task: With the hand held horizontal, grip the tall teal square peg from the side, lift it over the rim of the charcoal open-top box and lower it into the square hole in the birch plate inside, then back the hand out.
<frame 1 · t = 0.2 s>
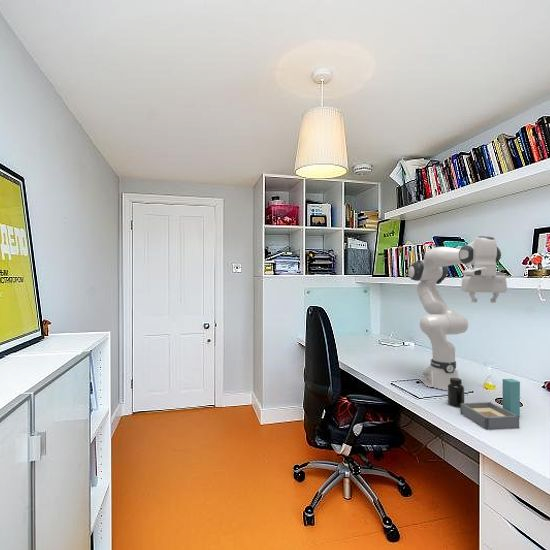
hand: (483, 302, 161), 48 cm above the table, tool pointing down, fingers open, 8 cm apart
supplement bottle: (455, 405, 164), on the table
peg: (511, 415, 152), on the table
open box: (488, 420, 147), on the table
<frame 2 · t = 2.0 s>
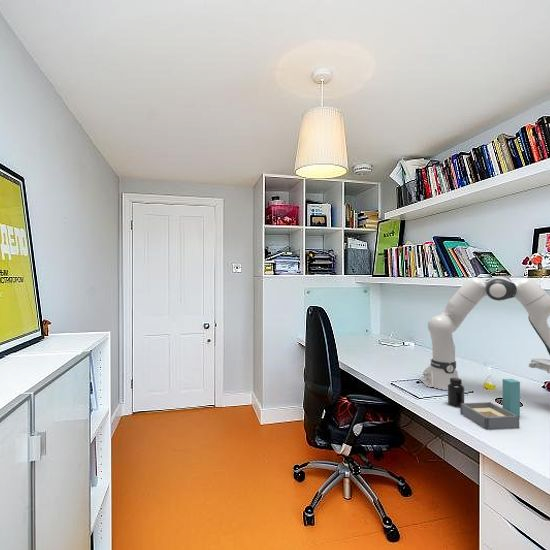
hand: (539, 368, 154), 20 cm above the table, tool horizontal, fingers open, 8 cm apart
nothing on the table moved.
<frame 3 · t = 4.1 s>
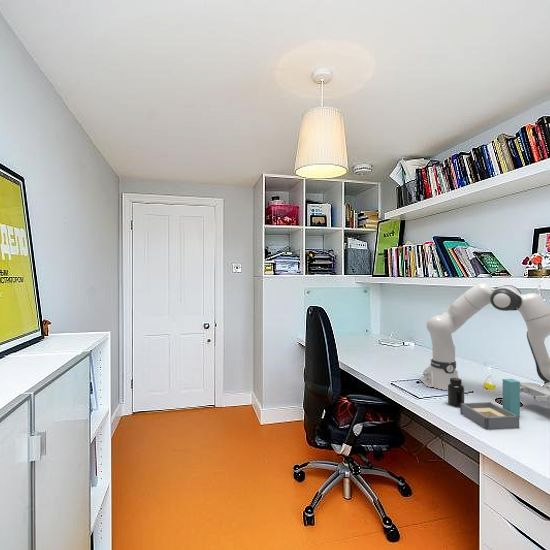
hand: (525, 394, 153), 9 cm above the table, tool horizontal, fingers open, 8 cm apart
nothing on the table moved.
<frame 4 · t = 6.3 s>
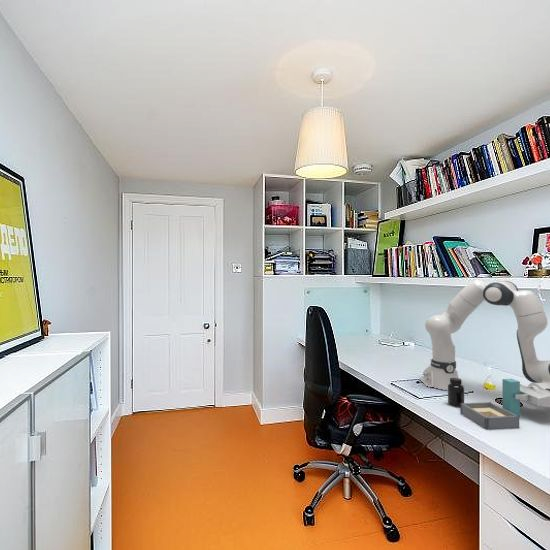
hand: (509, 394, 152), 9 cm above the table, tool horizontal, fingers closed on peg, 4 cm apart
peg: (511, 415, 152), on the table, touching gripper
everything else where it was.
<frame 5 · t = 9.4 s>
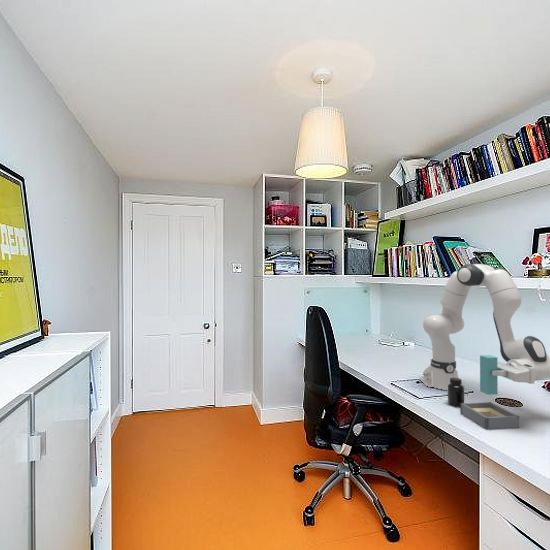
hand: (486, 371, 147), 20 cm above the table, tool horizontal, fingers closed on peg, 4 cm apart
peg: (488, 392, 147), point 11 cm above the table, touching gripper
everything else where it was.
when the fingers open (10 cm above the table, at t = 12.5 s): peg stays where it is, resting in open box.
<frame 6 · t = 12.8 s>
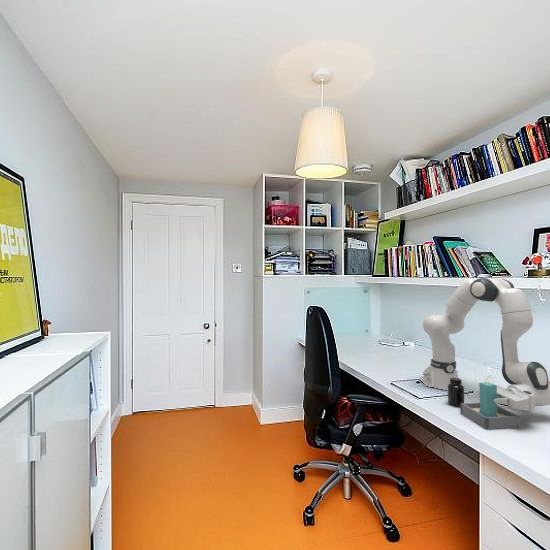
hand: (486, 396, 147), 10 cm above the table, tool horizontal, fingers open, 7 cm apart
peg: (488, 420, 147), resting in open box
everything else where it was.
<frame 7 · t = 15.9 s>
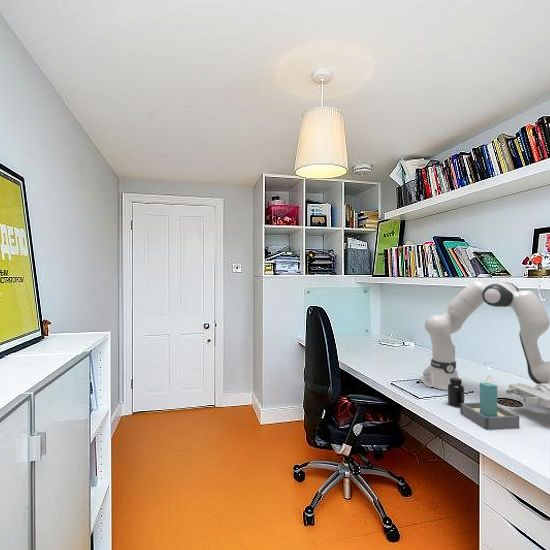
hand: (515, 395, 148), 10 cm above the table, tool horizontal, fingers open, 8 cm apart
nothing on the table moved.
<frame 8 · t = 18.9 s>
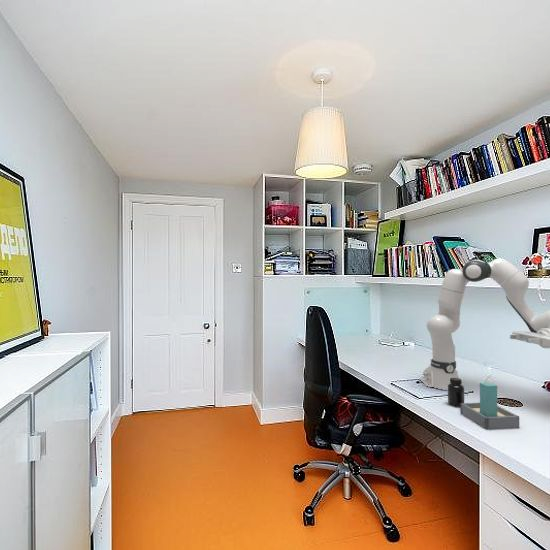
hand: (519, 338, 157), 32 cm above the table, tool horizontal, fingers open, 8 cm apart
nothing on the table moved.
at the end: peg 0.1 cm off-centre on the open box, point 0.0 cm above the open box's base; peg tilted 0°; the gripper is holding nothing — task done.
